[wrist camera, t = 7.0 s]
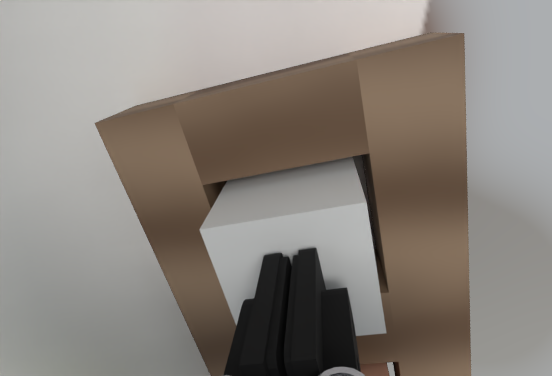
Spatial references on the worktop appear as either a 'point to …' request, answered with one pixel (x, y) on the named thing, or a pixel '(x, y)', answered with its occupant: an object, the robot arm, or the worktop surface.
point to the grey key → (297, 233)
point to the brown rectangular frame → (310, 150)
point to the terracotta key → (374, 369)
